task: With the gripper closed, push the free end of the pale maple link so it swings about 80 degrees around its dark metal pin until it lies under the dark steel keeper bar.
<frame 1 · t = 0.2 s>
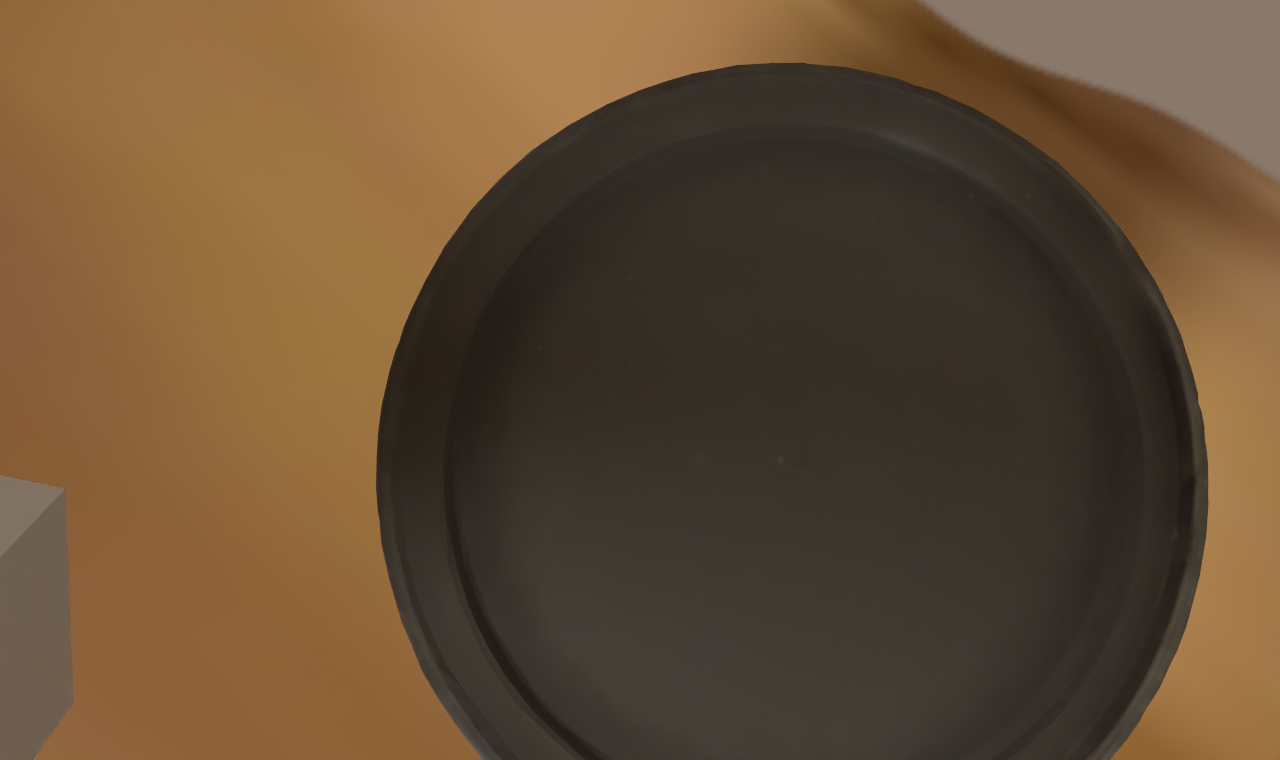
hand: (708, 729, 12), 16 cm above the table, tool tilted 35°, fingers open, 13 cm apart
coffee can: (697, 490, 28), on the table
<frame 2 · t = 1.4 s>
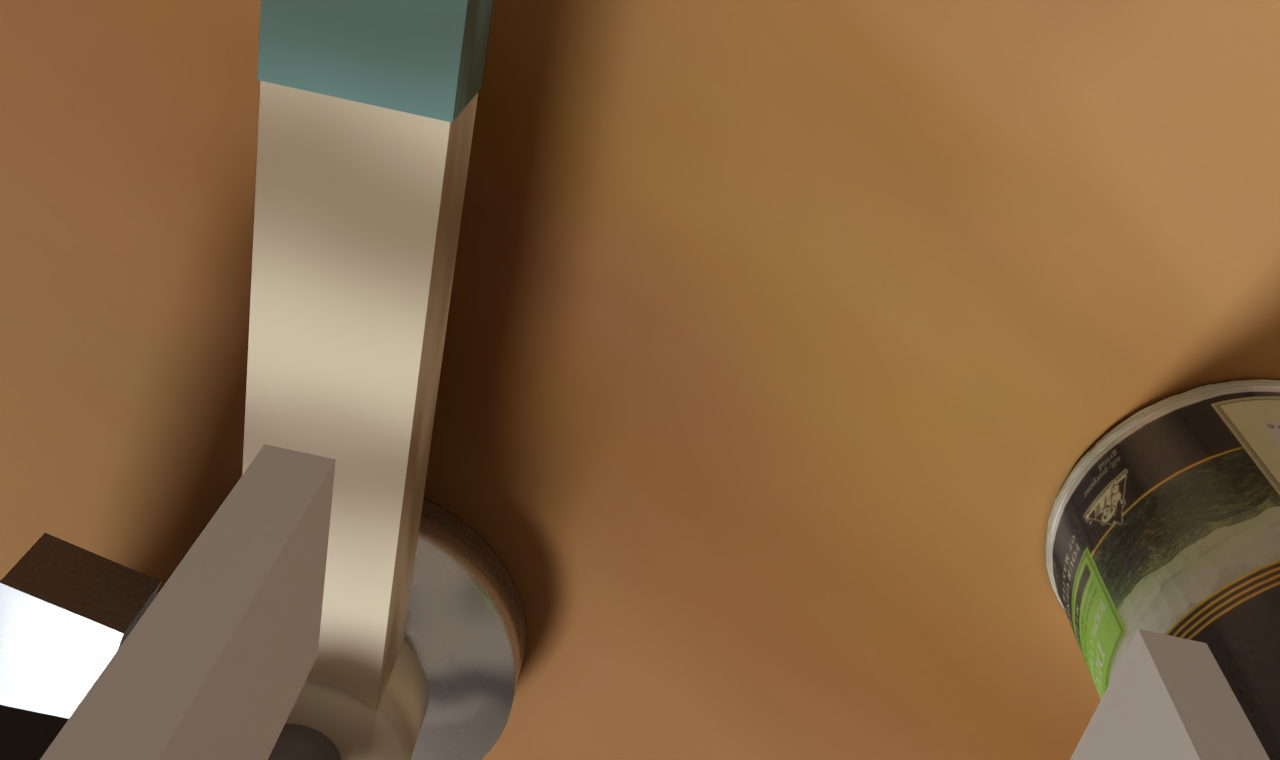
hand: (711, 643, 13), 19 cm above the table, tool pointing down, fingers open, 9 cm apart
coffee can: (1221, 527, 34), on the table
link: (322, 480, 28), point 6 cm above the table, hinge at 0.0°
keeper: (171, 539, 37), on the table
pin plate: (360, 620, 38), on the table
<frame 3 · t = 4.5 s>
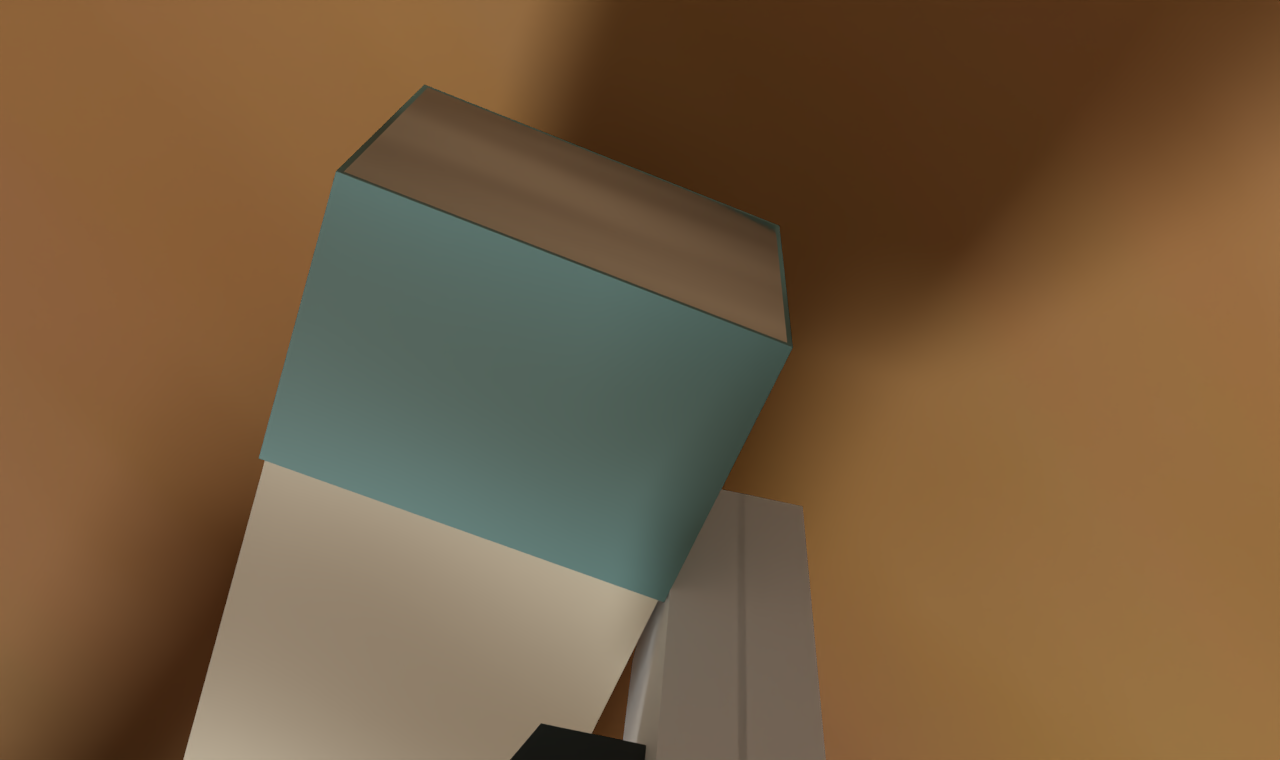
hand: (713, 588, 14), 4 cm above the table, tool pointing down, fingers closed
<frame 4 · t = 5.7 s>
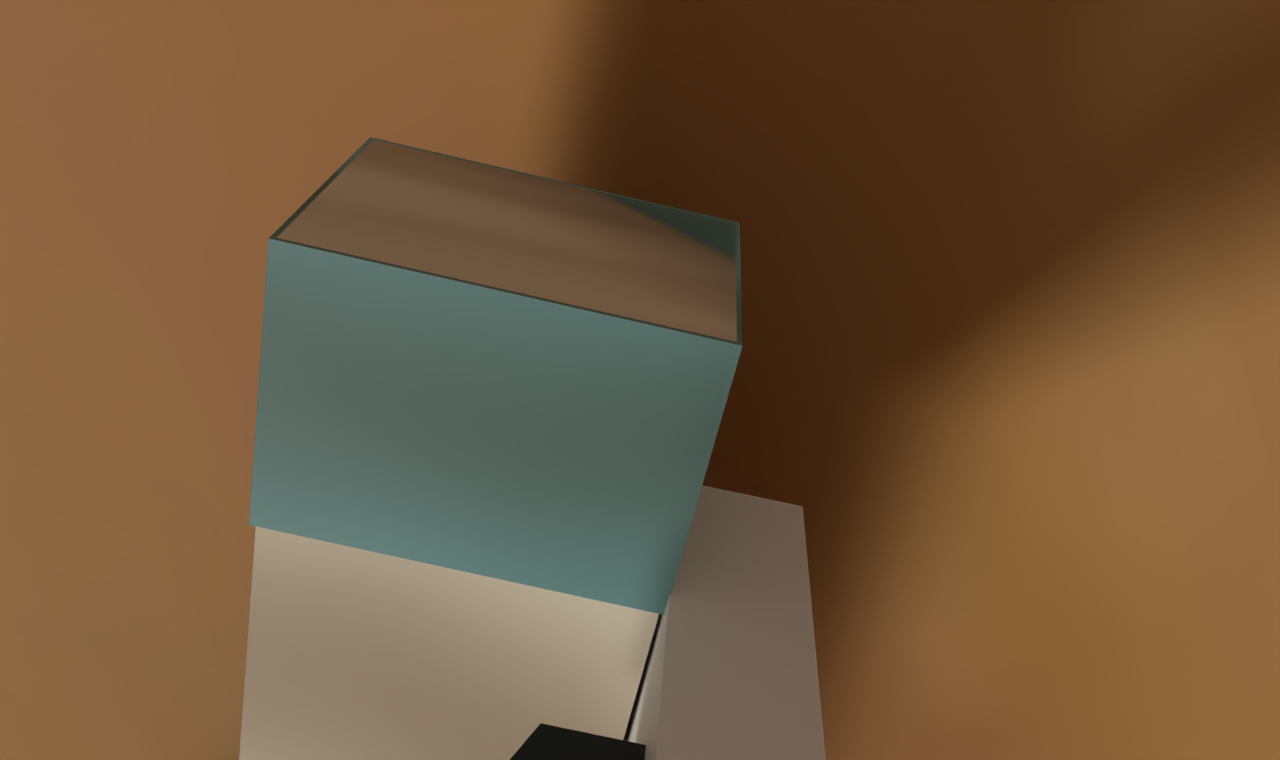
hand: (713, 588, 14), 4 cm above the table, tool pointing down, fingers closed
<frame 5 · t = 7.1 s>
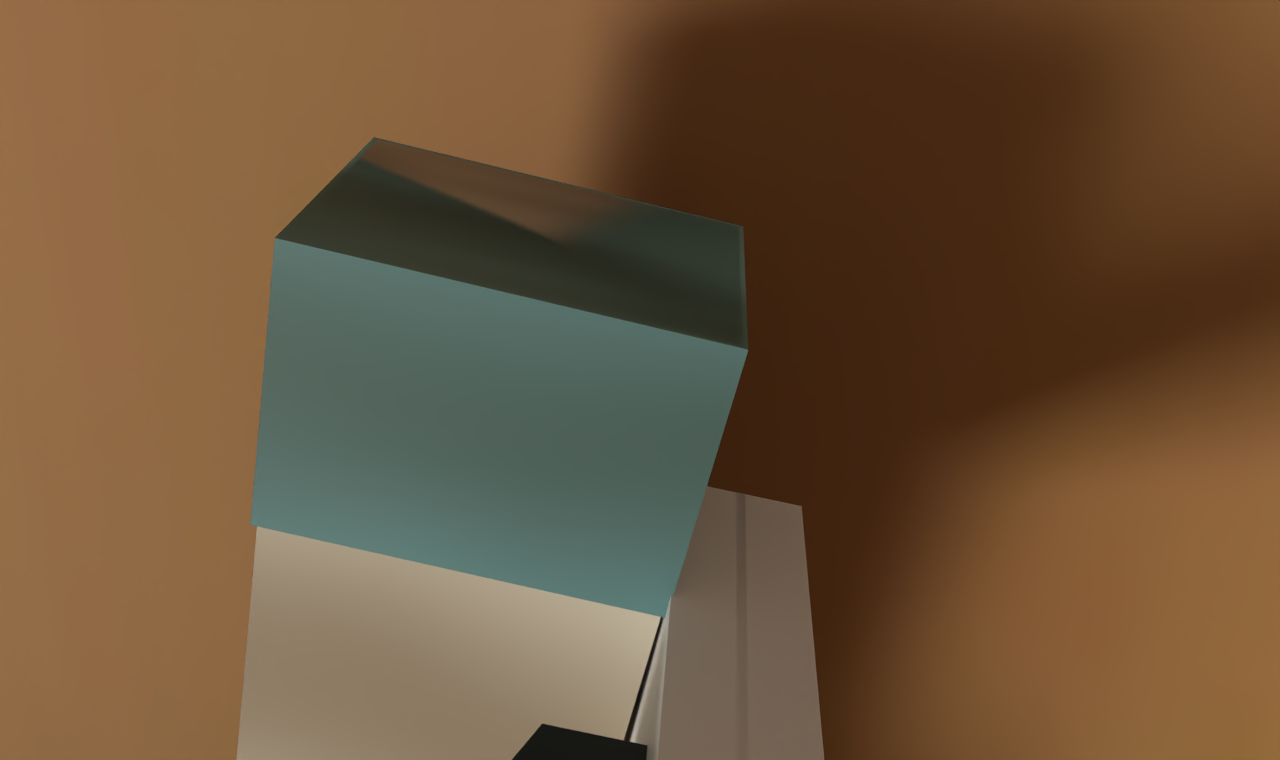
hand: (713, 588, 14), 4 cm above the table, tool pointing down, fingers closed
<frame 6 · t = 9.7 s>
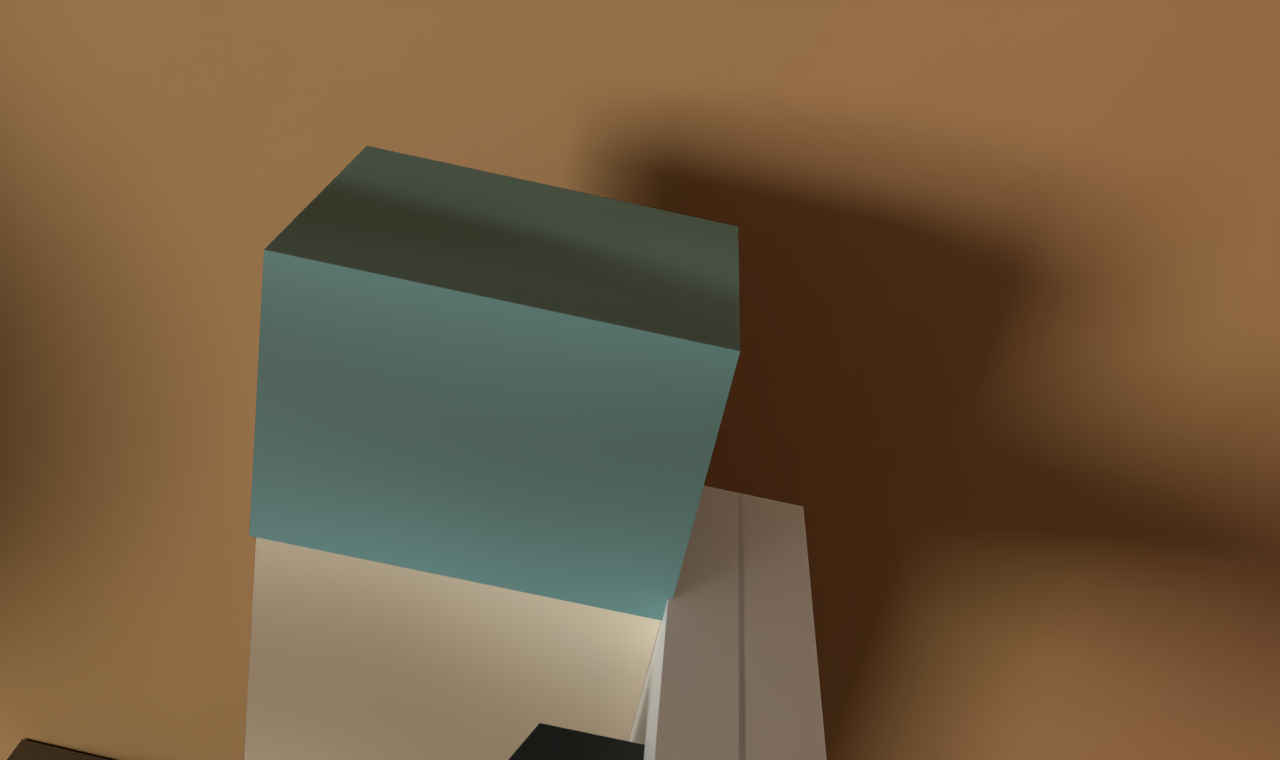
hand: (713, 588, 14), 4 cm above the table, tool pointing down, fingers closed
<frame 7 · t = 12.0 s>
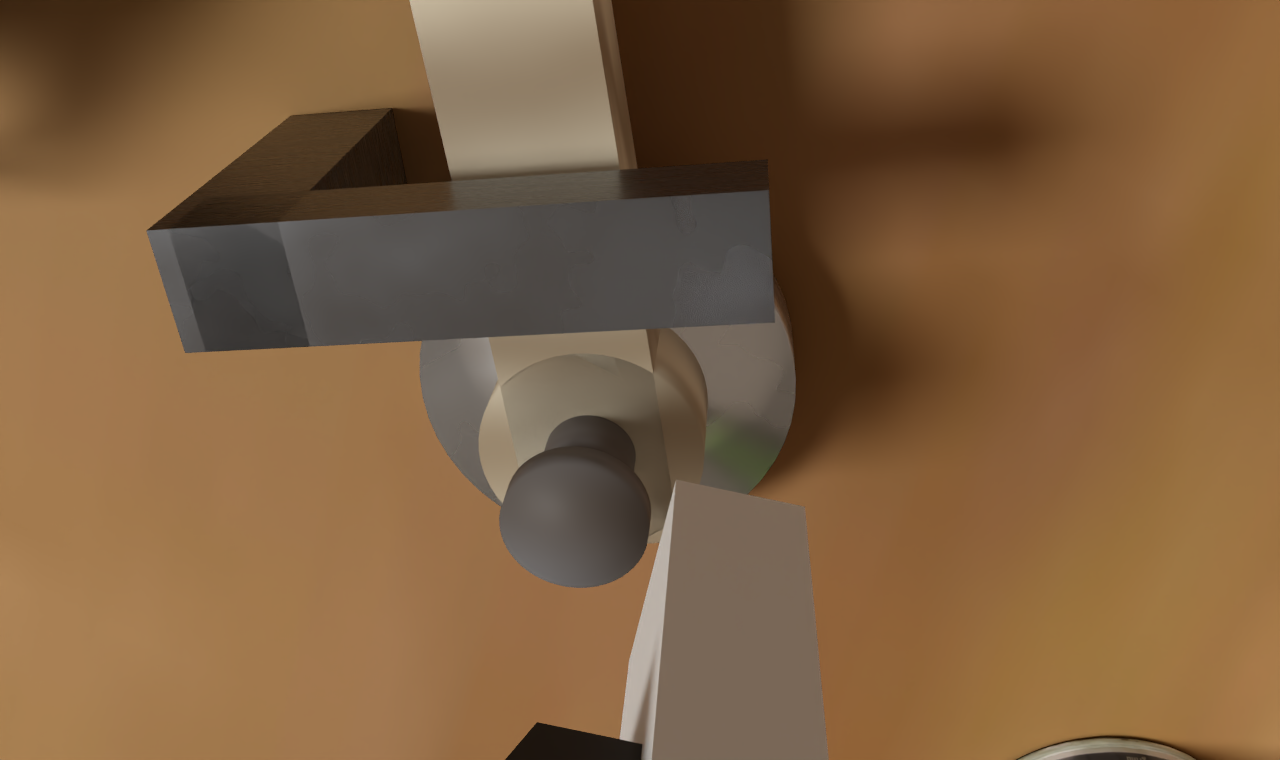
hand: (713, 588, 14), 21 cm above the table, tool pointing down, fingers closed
link: (519, 100, 26), point 6 cm above the table, hinge at 77.9°
keeper: (589, 146, 33), on the table
pin plate: (614, 351, 36), on the table
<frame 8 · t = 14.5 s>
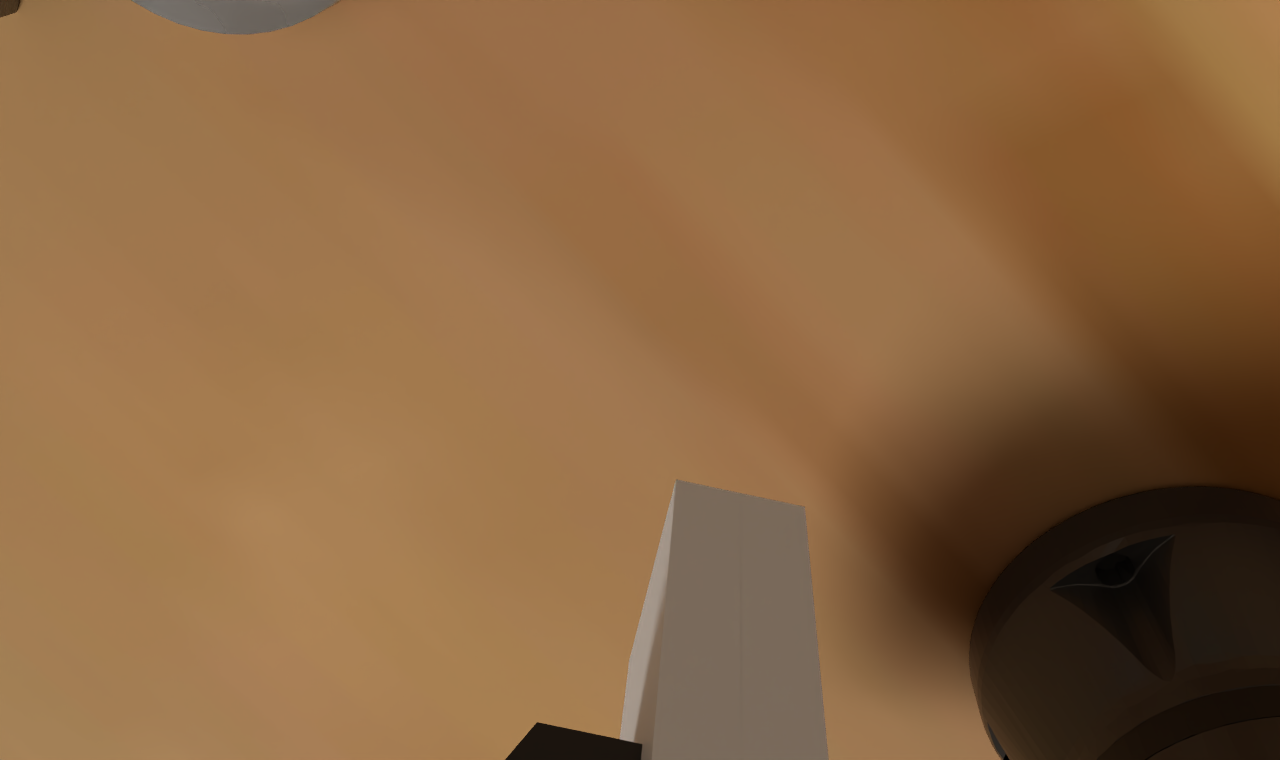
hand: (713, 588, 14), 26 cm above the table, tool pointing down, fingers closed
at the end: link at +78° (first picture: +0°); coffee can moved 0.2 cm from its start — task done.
